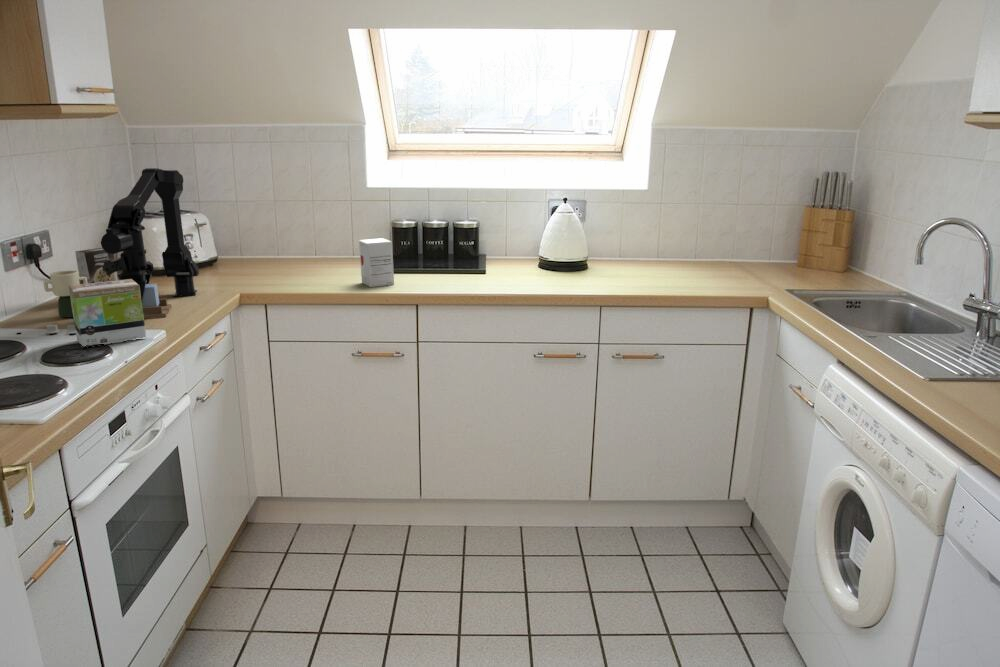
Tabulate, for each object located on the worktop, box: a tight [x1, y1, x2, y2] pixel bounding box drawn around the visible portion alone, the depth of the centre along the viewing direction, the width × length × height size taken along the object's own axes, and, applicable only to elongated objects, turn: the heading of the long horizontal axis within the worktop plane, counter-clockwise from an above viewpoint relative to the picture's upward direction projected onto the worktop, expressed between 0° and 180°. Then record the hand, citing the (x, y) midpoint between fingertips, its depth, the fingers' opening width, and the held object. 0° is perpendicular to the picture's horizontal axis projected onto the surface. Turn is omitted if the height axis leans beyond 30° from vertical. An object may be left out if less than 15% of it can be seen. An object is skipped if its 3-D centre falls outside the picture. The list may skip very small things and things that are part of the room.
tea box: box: [69, 279, 147, 347], centre depth 190 cm, size 15×10×15 cm, turn 126°
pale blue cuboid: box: [142, 283, 160, 307], centre depth 216 cm, size 5×9×6 cm, turn 106°
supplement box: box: [358, 237, 395, 288], centre depth 253 cm, size 9×9×15 cm
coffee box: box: [74, 247, 119, 284], centre depth 235 cm, size 9×6×16 cm
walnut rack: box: [142, 298, 172, 320], centre depth 217 cm, size 12×14×3 cm
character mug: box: [43, 270, 88, 318], centre depth 215 cm, size 11×7×13 cm, turn 118°
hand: (141, 300), depth 217 cm, fingers open, 5 cm apart
